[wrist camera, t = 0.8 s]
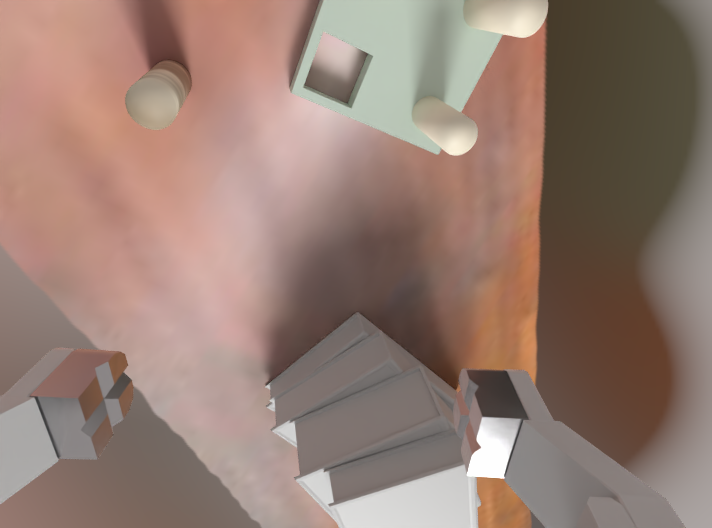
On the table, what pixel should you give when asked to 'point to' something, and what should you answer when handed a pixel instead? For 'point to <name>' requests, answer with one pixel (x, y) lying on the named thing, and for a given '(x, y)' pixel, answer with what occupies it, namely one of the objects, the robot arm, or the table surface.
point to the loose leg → (159, 95)
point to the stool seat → (417, 62)
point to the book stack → (374, 433)
